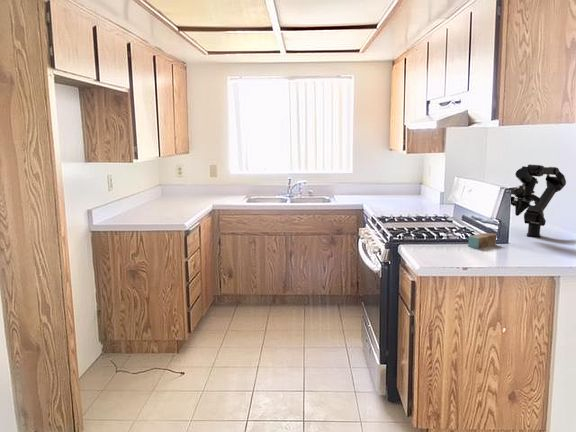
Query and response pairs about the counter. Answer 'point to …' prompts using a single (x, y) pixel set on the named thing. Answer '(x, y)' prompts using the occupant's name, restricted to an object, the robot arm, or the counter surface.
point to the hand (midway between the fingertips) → (516, 215)
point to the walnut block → (482, 240)
